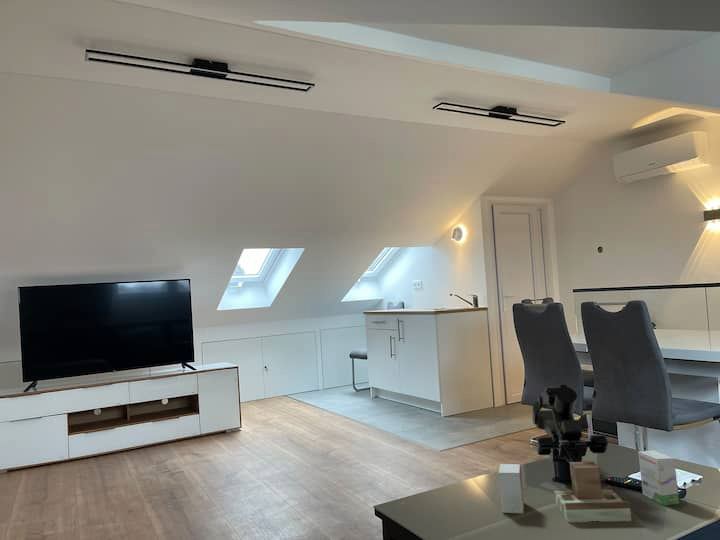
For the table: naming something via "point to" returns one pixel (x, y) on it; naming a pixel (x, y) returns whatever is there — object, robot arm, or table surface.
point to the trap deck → (593, 507)
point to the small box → (511, 488)
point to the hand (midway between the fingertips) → (579, 473)
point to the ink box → (658, 477)
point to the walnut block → (585, 480)
